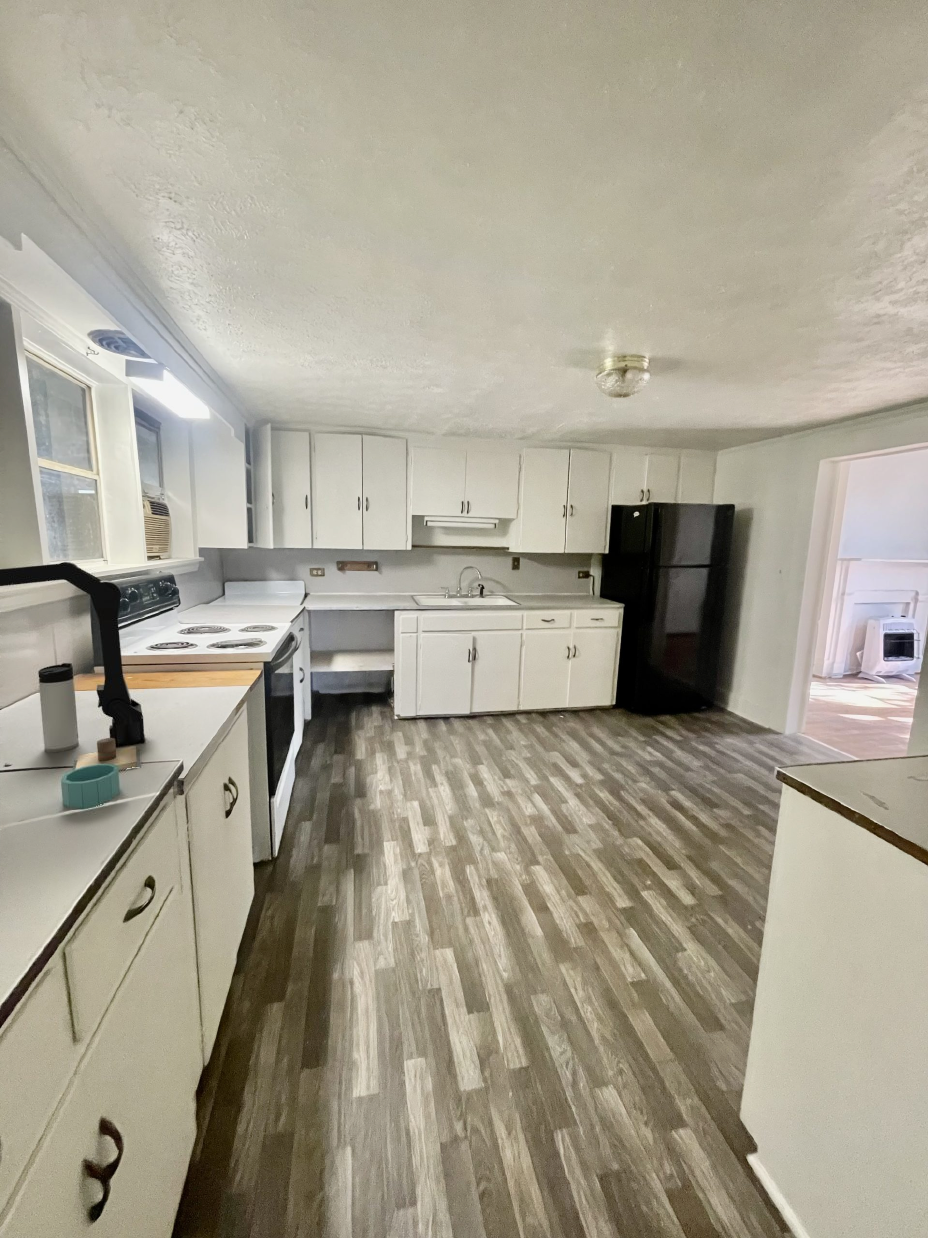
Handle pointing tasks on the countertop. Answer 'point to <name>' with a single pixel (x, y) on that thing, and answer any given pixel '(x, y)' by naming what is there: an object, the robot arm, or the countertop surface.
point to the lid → (109, 755)
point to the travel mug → (58, 707)
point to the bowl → (90, 785)
